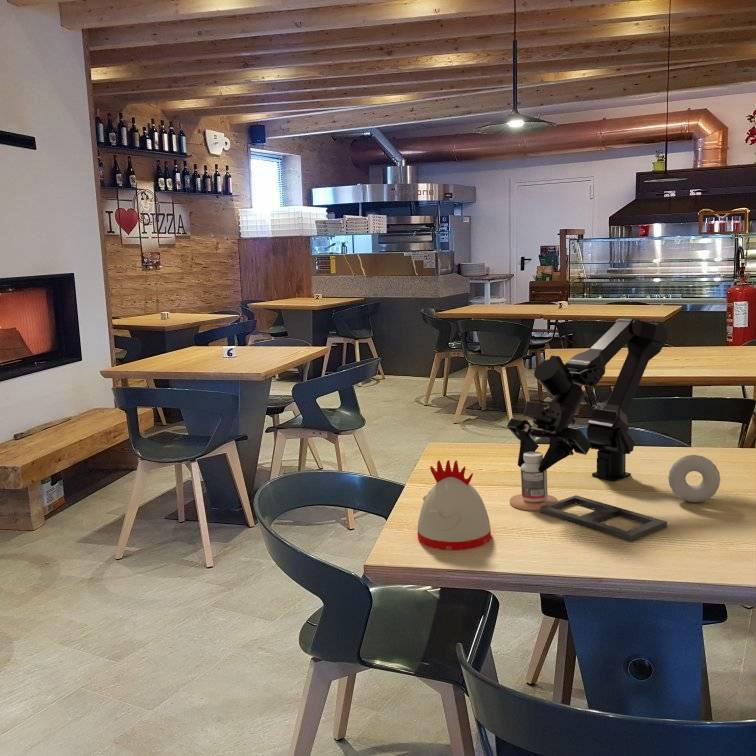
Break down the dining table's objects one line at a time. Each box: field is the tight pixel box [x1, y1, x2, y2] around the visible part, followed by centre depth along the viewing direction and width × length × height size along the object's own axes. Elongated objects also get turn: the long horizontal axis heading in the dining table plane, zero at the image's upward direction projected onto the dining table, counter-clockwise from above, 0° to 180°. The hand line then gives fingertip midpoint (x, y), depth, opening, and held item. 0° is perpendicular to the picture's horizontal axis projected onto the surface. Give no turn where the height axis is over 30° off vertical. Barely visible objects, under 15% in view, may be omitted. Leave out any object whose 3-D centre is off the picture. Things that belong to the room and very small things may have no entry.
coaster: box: [509, 493, 559, 512], centre depth 169 cm, size 10×10×1 cm
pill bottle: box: [520, 451, 549, 502], centre depth 168 cm, size 5×5×10 cm
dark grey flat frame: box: [539, 494, 668, 543], centre depth 157 cm, size 11×22×1 cm, turn 36°
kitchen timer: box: [417, 459, 492, 551], centre depth 151 cm, size 14×14×15 cm
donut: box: [667, 454, 721, 504], centre depth 164 cm, size 10×3×10 cm, turn 74°
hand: (529, 468), depth 167 cm, fingers closed on pill bottle, 5 cm apart
